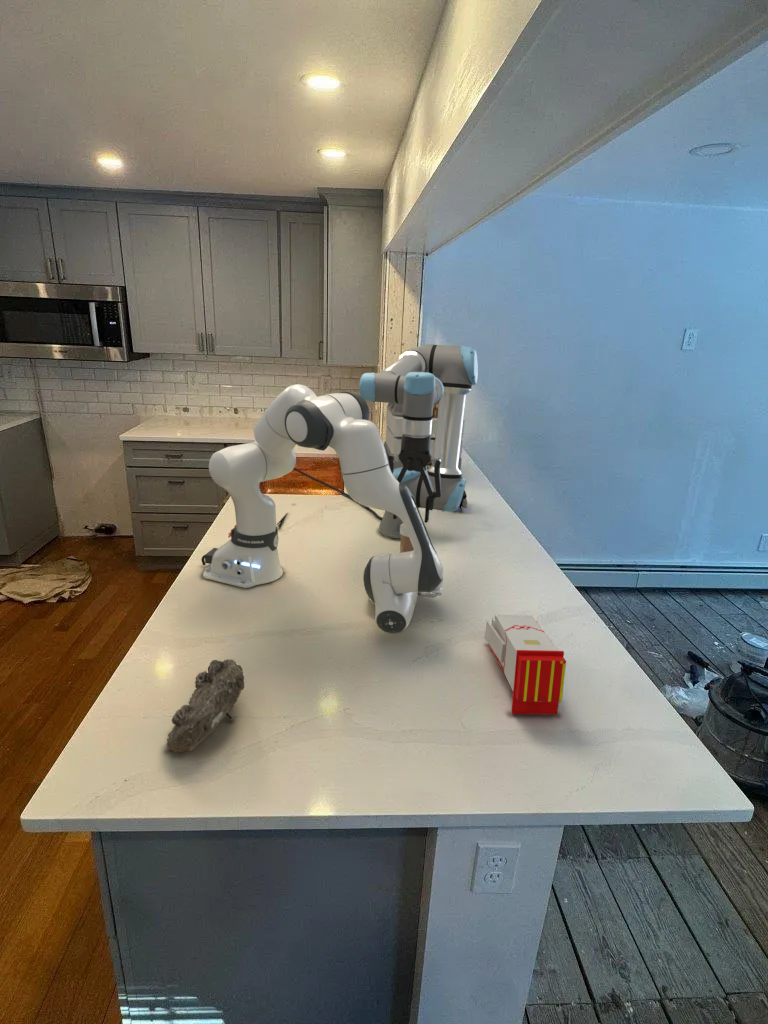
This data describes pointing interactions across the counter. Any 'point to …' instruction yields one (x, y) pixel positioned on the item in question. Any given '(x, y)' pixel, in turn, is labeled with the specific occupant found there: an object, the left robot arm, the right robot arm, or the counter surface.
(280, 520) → the feather
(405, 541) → the tan brown cylinder
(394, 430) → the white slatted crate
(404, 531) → the lid
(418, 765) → the counter surface
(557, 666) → the toy
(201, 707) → the fossil
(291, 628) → the counter surface
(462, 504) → the figurine character
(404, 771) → the counter surface
